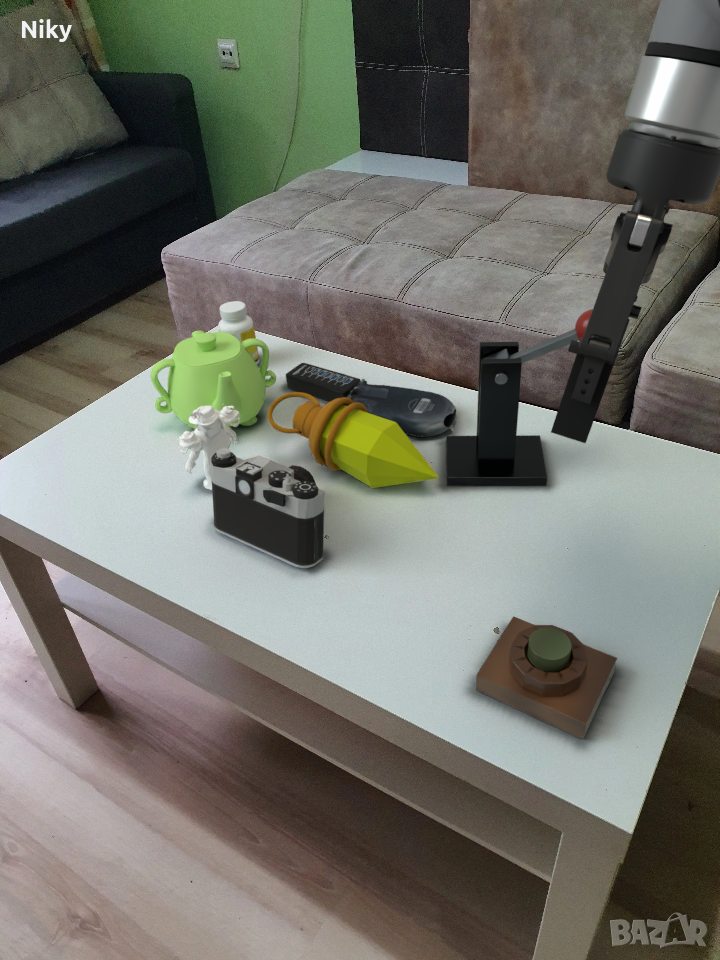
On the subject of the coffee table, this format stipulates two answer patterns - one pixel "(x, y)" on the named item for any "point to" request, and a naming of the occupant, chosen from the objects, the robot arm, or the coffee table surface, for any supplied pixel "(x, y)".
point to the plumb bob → (356, 441)
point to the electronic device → (407, 407)
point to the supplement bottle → (238, 324)
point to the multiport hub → (320, 382)
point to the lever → (548, 342)
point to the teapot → (214, 377)
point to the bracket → (496, 431)
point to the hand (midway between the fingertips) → (580, 408)
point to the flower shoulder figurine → (208, 436)
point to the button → (549, 649)
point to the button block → (546, 679)
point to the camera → (269, 507)
